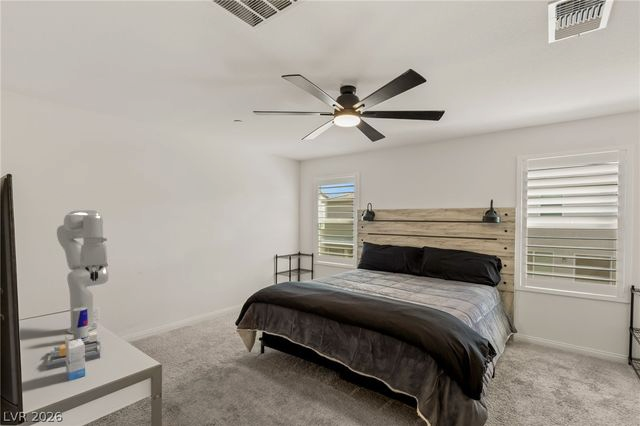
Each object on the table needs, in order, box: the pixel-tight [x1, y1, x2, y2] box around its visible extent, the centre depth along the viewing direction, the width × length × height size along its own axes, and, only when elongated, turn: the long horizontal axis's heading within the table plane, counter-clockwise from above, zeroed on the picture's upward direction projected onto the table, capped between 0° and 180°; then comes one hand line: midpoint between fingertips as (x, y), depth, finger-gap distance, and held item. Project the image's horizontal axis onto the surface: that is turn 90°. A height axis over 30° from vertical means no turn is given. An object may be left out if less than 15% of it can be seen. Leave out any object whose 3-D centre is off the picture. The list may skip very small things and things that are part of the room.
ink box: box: [64, 334, 86, 381], centre depth 119 cm, size 9×5×15 cm, turn 45°
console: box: [45, 337, 101, 371], centre depth 135 cm, size 20×17×3 cm
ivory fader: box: [88, 330, 98, 343], centre depth 143 cm, size 4×3×4 cm, turn 35°
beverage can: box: [72, 307, 89, 342], centre depth 152 cm, size 6×6×15 cm
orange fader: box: [60, 344, 66, 357], centre depth 129 cm, size 4×3×4 cm, turn 35°
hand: (94, 280), depth 148 cm, fingers closed
